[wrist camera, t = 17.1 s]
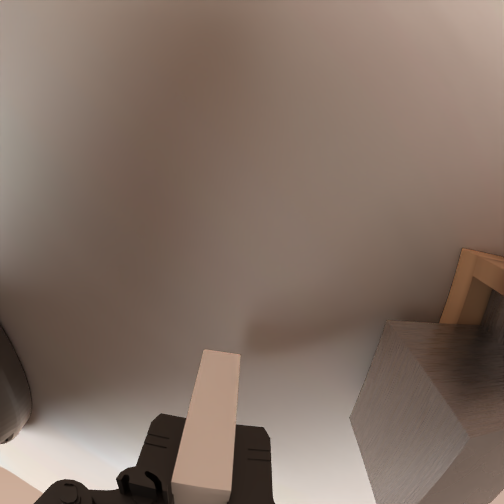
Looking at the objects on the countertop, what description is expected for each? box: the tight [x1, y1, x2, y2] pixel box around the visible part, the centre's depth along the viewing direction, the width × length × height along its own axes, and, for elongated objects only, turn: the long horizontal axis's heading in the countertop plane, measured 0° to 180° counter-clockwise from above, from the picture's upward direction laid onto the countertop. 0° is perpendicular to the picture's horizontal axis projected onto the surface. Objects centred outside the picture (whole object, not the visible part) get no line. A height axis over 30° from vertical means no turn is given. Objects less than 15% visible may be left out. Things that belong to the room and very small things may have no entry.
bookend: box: [349, 290, 504, 504], centre depth 11 cm, size 7×10×8 cm
